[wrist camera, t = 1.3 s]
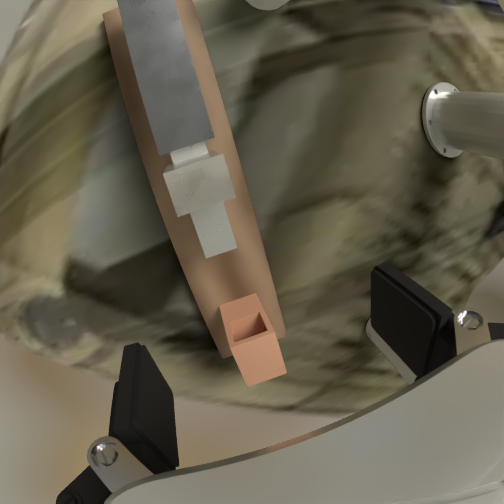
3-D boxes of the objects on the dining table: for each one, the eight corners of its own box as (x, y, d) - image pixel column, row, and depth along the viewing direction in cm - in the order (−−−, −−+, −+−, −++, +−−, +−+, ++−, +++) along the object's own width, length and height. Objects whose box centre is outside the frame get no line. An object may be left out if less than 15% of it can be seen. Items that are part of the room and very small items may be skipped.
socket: (255, 292, 38) (274, 331, 31) (268, 332, 41) (287, 372, 34) (219, 305, 38) (229, 347, 30) (234, 344, 41) (247, 387, 33)
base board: (187, -8, 23) (188, -13, 22) (284, 330, 44) (287, 336, 42) (105, 18, 22) (102, 13, 21) (221, 352, 43) (222, 359, 41)
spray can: (359, 339, 49) (423, 418, 31) (370, 306, 46) (445, 384, 28) (387, 334, 50) (451, 404, 32) (398, 303, 48) (472, 371, 30)
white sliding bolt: (164, -12, 19) (160, -60, 10) (236, 235, 30) (258, 274, 22) (124, 1, 18) (106, -43, 10) (198, 248, 30) (206, 293, 21)
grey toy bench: (166, -2, 22) (164, -37, 15) (206, 137, 30) (214, 137, 22) (126, 11, 22) (112, -21, 14) (165, 151, 29) (159, 155, 22)
